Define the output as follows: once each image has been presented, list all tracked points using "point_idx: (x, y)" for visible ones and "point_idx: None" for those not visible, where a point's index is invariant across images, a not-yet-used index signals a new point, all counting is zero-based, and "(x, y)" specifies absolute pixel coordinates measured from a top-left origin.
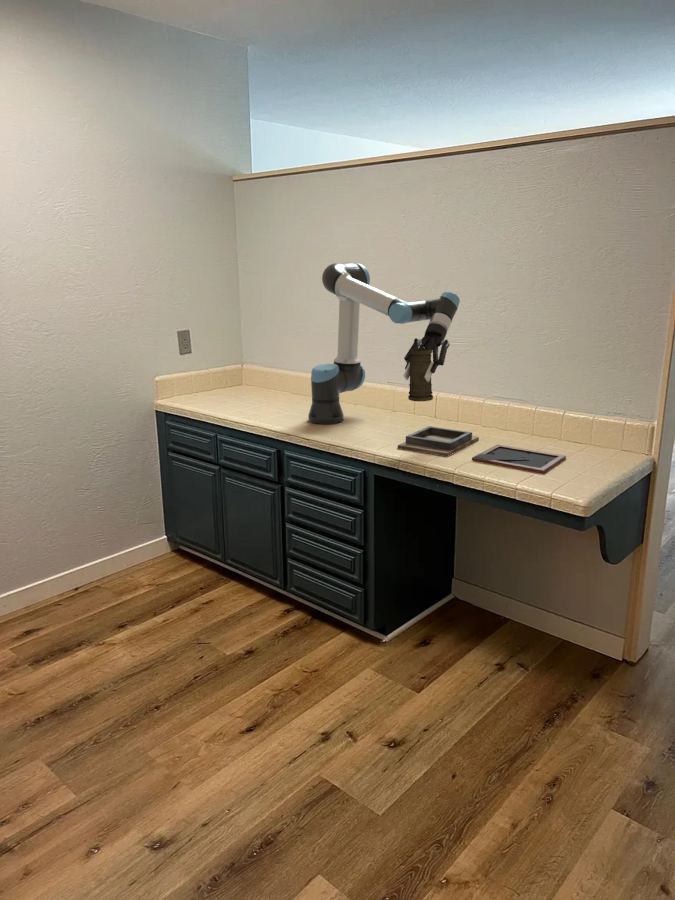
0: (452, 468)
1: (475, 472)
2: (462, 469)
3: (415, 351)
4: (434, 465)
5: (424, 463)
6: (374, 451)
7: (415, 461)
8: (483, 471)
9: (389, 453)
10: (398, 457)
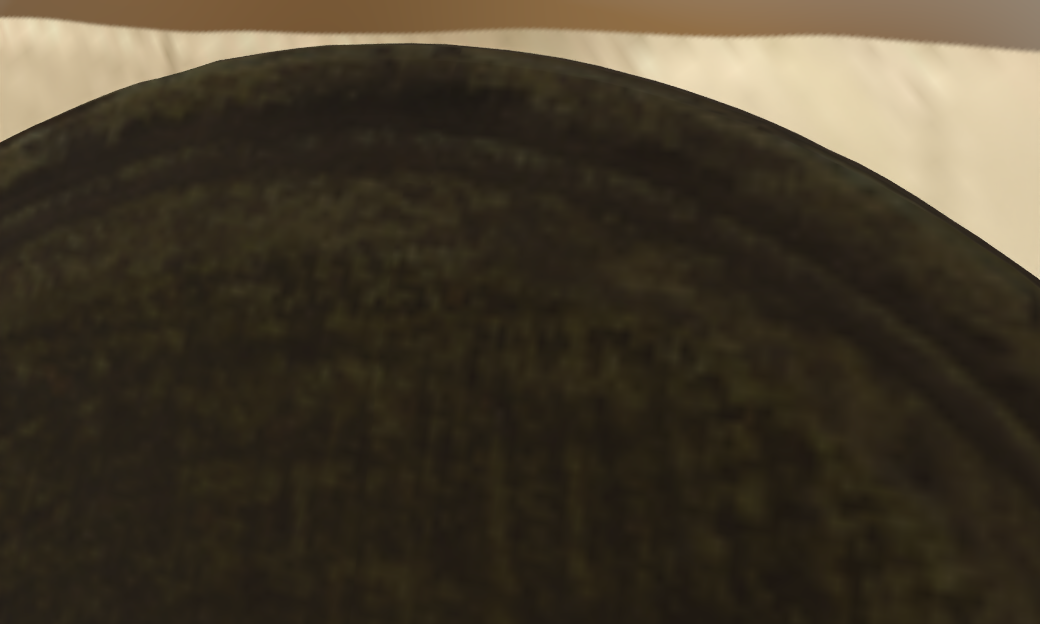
0: (189, 60)
1: (46, 78)
2: (130, 82)
3: (258, 79)
4: (314, 42)
5: (392, 37)
6: (914, 57)
7: (469, 37)
8: (13, 126)
9: (761, 87)
10: (633, 41)
